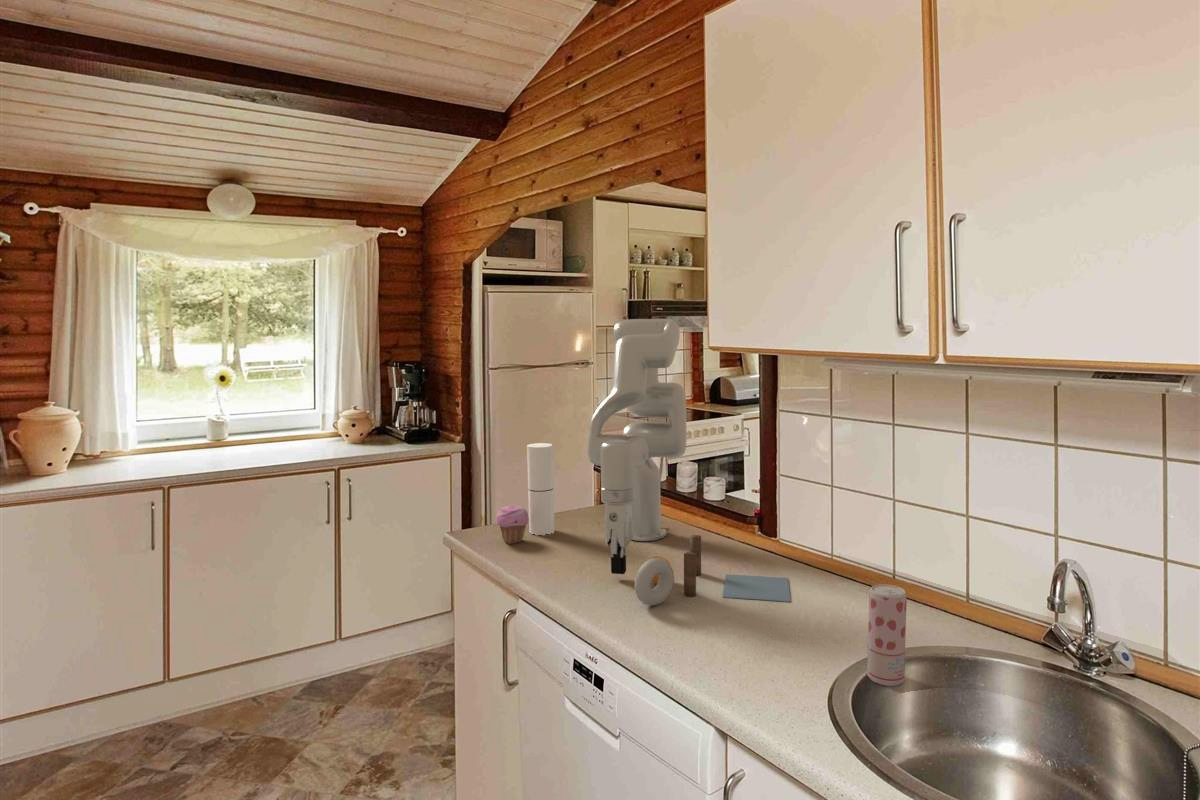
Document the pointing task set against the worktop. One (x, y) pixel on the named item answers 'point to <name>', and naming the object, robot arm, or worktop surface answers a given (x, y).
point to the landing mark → (756, 588)
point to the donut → (645, 578)
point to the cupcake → (512, 523)
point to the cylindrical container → (540, 488)
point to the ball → (655, 578)
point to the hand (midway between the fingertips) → (618, 572)
